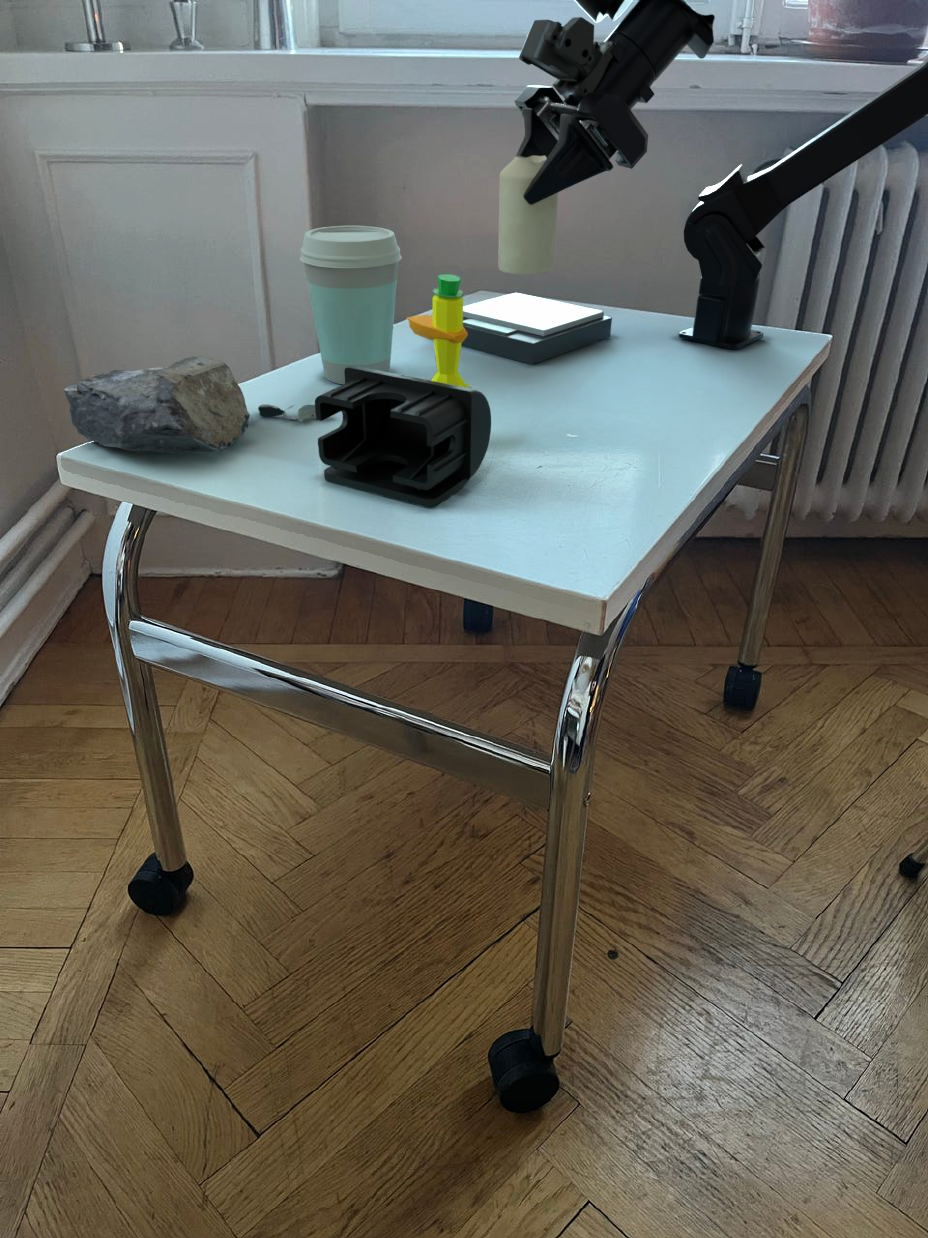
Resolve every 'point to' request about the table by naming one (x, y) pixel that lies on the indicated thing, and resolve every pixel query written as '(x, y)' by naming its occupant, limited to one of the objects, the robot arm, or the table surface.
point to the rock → (161, 407)
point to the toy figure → (444, 329)
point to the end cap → (403, 435)
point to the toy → (275, 411)
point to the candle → (525, 221)
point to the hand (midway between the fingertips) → (515, 196)
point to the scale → (531, 327)
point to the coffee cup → (352, 295)
